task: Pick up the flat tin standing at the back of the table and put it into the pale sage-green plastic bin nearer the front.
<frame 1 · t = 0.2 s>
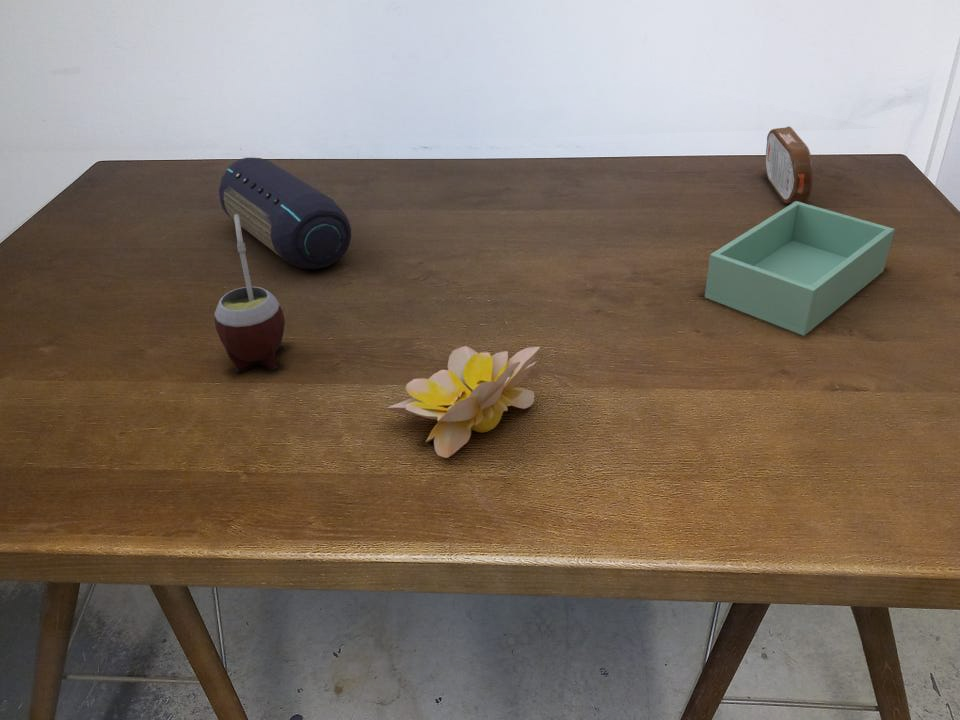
portable speaker: (287, 245, 113), on the table
bin: (795, 284, 98), on the table
tin: (782, 193, 121), on the table
decorative flower: (474, 419, 80), on the table
mate gourd: (259, 360, 90), on the table
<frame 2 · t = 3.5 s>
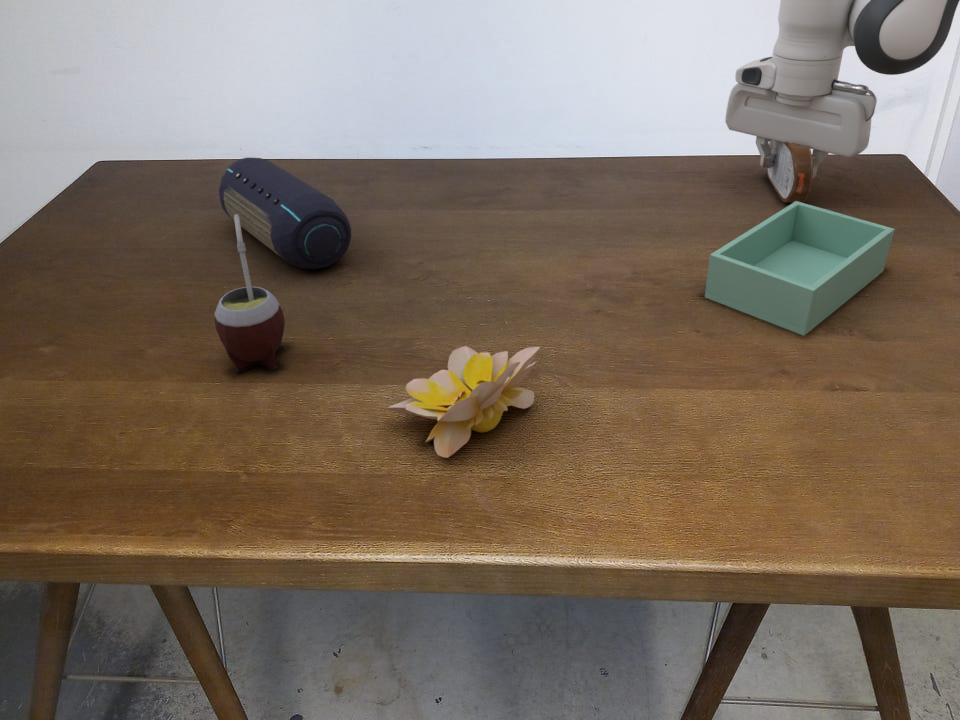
hand: (786, 171, 119), 3 cm above the table, tool pointing down, fingers closed on tin, 5 cm apart
tin: (781, 192, 121), on the table, touching gripper
everything else where it was.
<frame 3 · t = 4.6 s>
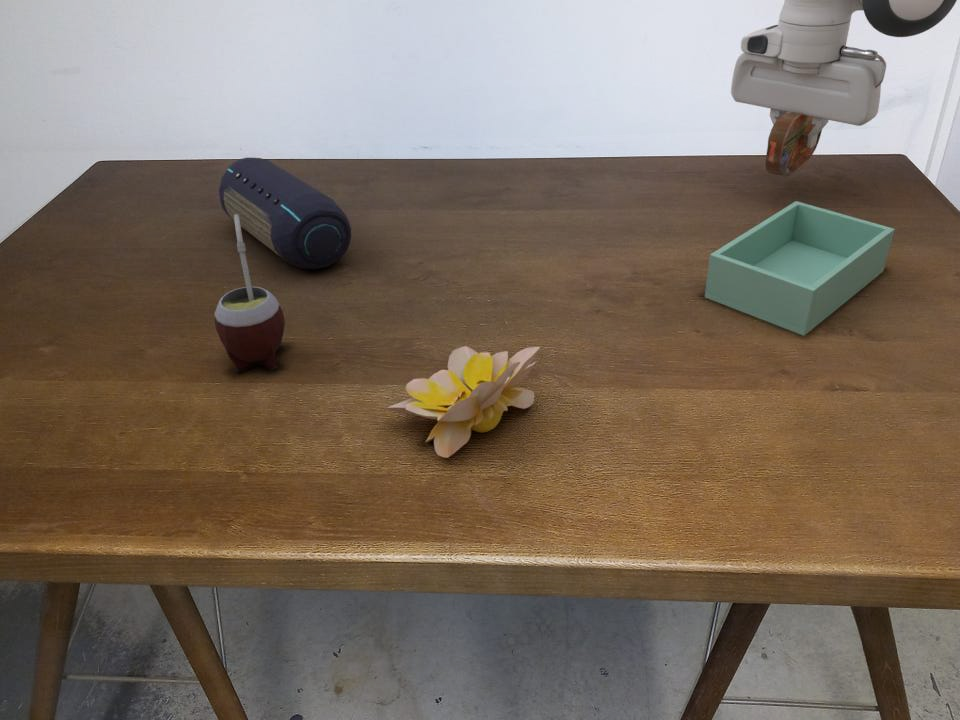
hand: (794, 143, 116), 7 cm above the table, tool pointing down, fingers closed on tin, 3 cm apart
tin: (788, 166, 118), point 4 cm above the table, touching gripper
everything else where it was.
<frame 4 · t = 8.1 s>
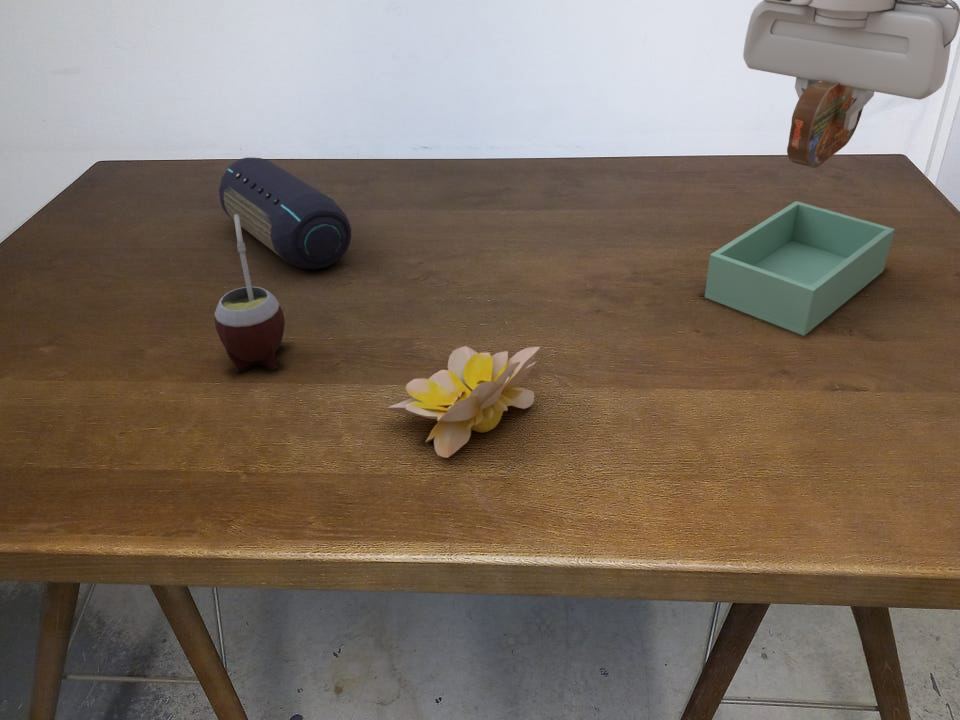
hand: (826, 124, 88), 19 cm above the table, tool pointing down, fingers closed on tin, 2 cm apart
tin: (817, 155, 90), point 16 cm above the table, touching gripper
everything else where it was.
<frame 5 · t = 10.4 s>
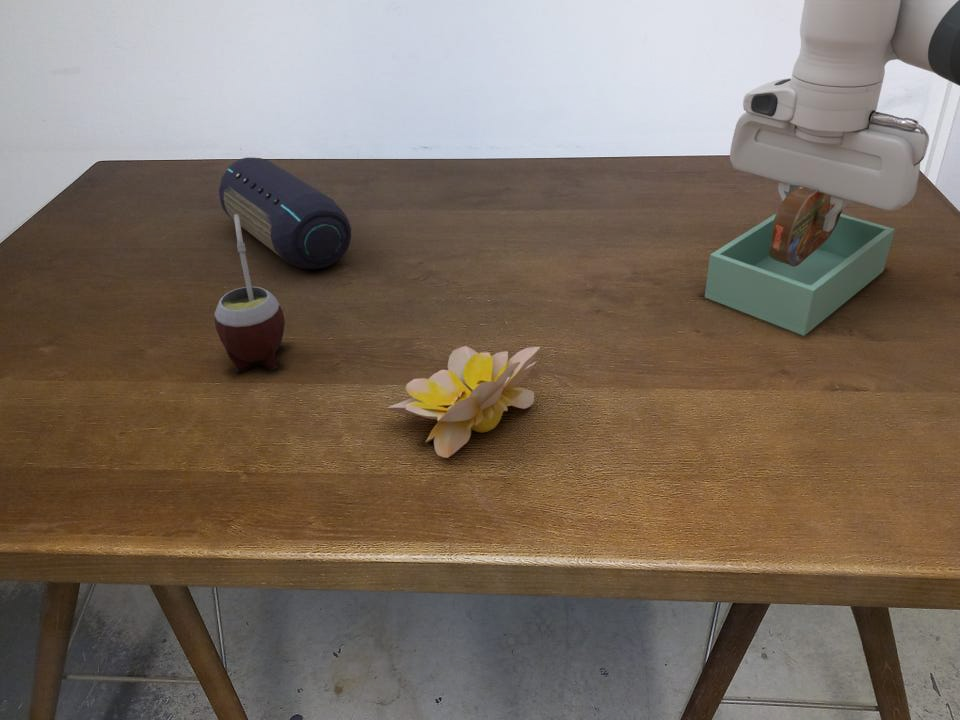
hand: (807, 223, 94), 8 cm above the table, tool pointing down, fingers closed on tin, 2 cm apart
tin: (799, 250, 96), point 5 cm above the table, touching gripper
everything else where it was.
when the fingers open (4 cm above the table, at t = 11.8 s): tin stays where it is, resting on bin.
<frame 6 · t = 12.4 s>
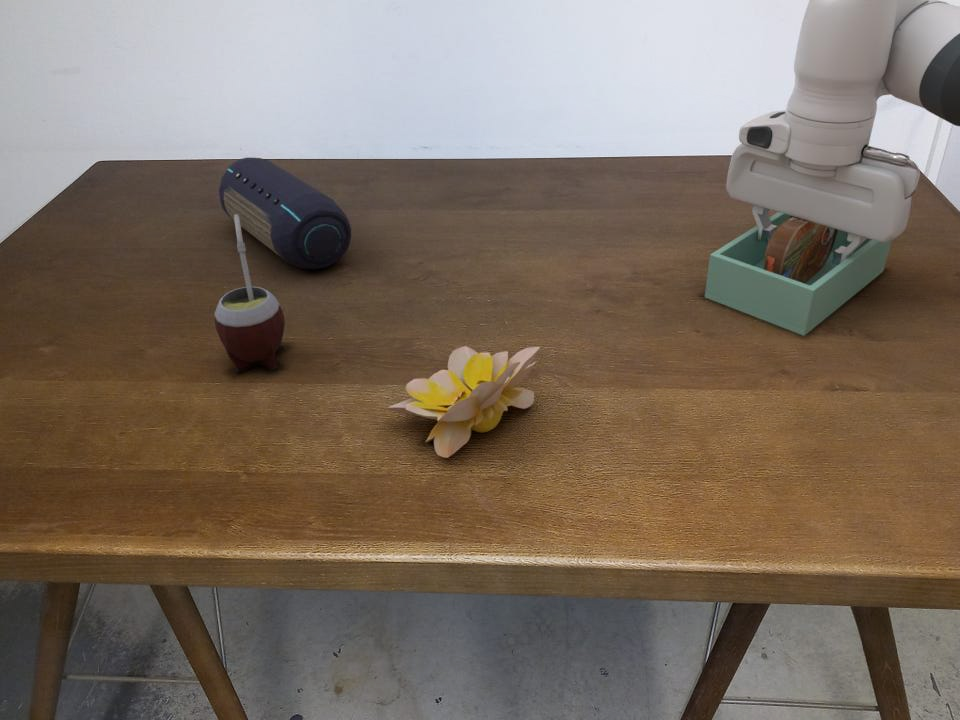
hand: (802, 251, 96), 4 cm above the table, tool pointing down, fingers open, 8 cm apart
tin: (794, 279, 98), point 1 cm above the table, touching bin
everything else where it was.
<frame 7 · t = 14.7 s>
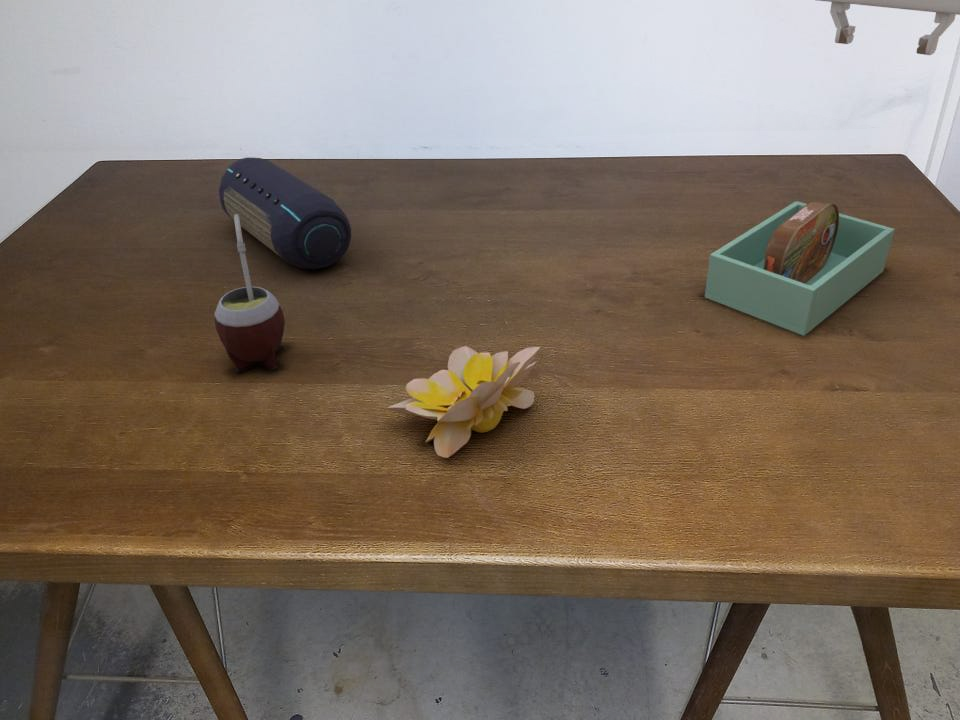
hand: (883, 48, 94), 24 cm above the table, tool pointing down, fingers open, 8 cm apart
nothing on the table moved.
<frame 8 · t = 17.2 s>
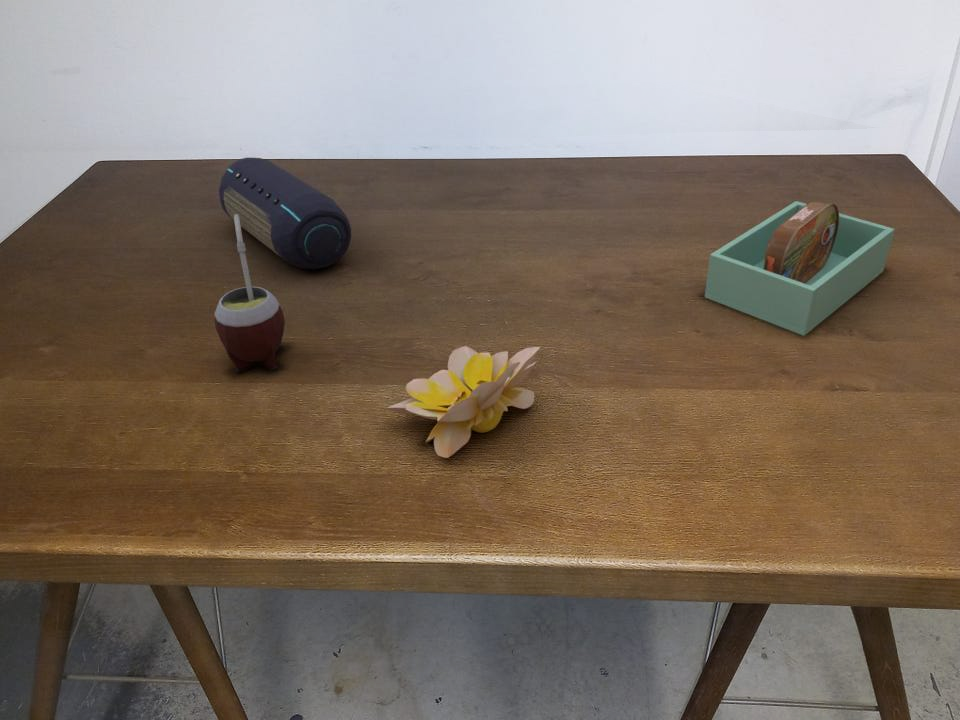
nothing on the table moved.
at the end: tin inside the target area in the bin (0.2 cm from its centre), point 0.6 cm above the bin's base; the gripper is holding nothing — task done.
